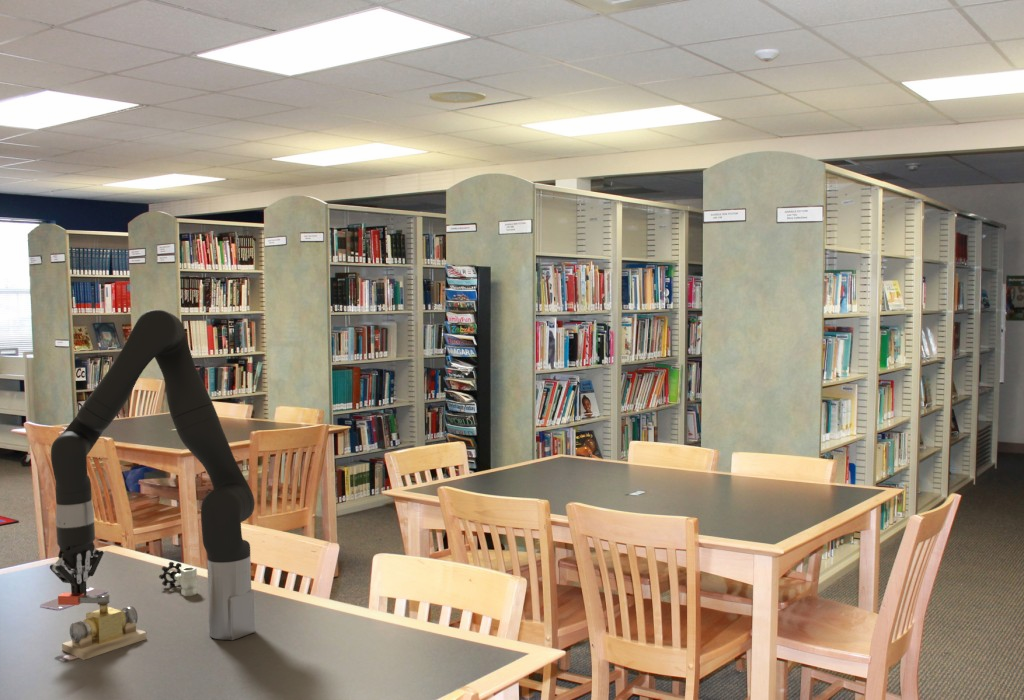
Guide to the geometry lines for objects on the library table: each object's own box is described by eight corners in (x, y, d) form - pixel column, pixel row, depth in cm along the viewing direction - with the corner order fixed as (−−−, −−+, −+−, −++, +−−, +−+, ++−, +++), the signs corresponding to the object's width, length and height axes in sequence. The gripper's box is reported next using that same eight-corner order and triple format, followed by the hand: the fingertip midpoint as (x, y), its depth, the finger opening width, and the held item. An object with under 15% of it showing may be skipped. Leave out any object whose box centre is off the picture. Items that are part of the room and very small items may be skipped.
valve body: (139, 631, 194) (138, 597, 194) (81, 649, 184) (80, 614, 183) (126, 626, 197) (125, 593, 197) (68, 644, 187) (67, 610, 186)
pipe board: (146, 638, 194) (145, 622, 193) (84, 659, 182) (83, 642, 182) (124, 630, 199) (123, 614, 199) (62, 650, 188) (61, 633, 187)
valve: (205, 592, 225) (183, 583, 233) (204, 567, 225) (182, 558, 233) (180, 599, 220) (159, 589, 229) (180, 573, 220) (158, 564, 228)
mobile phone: (37, 604, 216) (88, 586, 230) (37, 608, 216) (88, 589, 230) (59, 608, 213) (109, 589, 227) (59, 612, 213) (109, 593, 227)
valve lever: (111, 602, 191) (111, 593, 191) (105, 605, 189) (105, 597, 189) (64, 601, 192) (64, 592, 192) (58, 604, 190) (57, 596, 190)
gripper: (62, 530, 185) (67, 611, 186) (111, 515, 198) (115, 590, 199) (36, 528, 188) (41, 607, 189) (86, 513, 200) (90, 587, 201)
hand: (79, 598), depth 194 cm, fingers closed
